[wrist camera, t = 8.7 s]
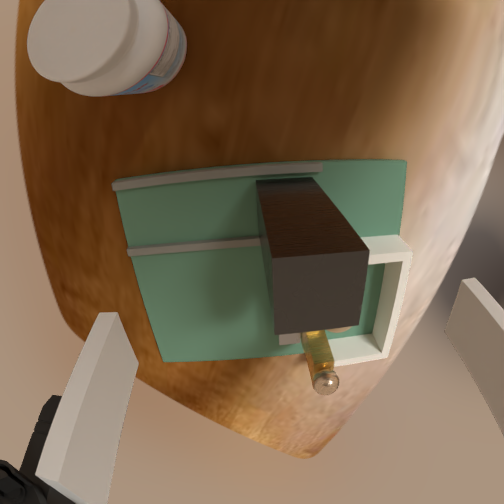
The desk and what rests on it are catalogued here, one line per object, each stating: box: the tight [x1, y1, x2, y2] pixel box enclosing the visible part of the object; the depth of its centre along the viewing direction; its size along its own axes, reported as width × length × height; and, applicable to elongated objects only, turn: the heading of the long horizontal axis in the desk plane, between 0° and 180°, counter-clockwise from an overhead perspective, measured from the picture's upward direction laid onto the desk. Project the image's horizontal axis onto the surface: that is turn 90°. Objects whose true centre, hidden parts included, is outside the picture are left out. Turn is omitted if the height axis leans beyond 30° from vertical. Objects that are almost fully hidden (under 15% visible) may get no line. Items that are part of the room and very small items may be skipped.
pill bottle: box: [27, 0, 187, 97], centre depth 13 cm, size 6×6×11 cm
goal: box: [328, 235, 413, 367], centre depth 27 cm, size 12×7×4 cm, turn 4°
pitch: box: [111, 159, 407, 362], centre depth 26 cm, size 18×22×1 cm
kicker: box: [255, 177, 370, 395], centre depth 21 cm, size 14×4×11 cm, turn 4°
